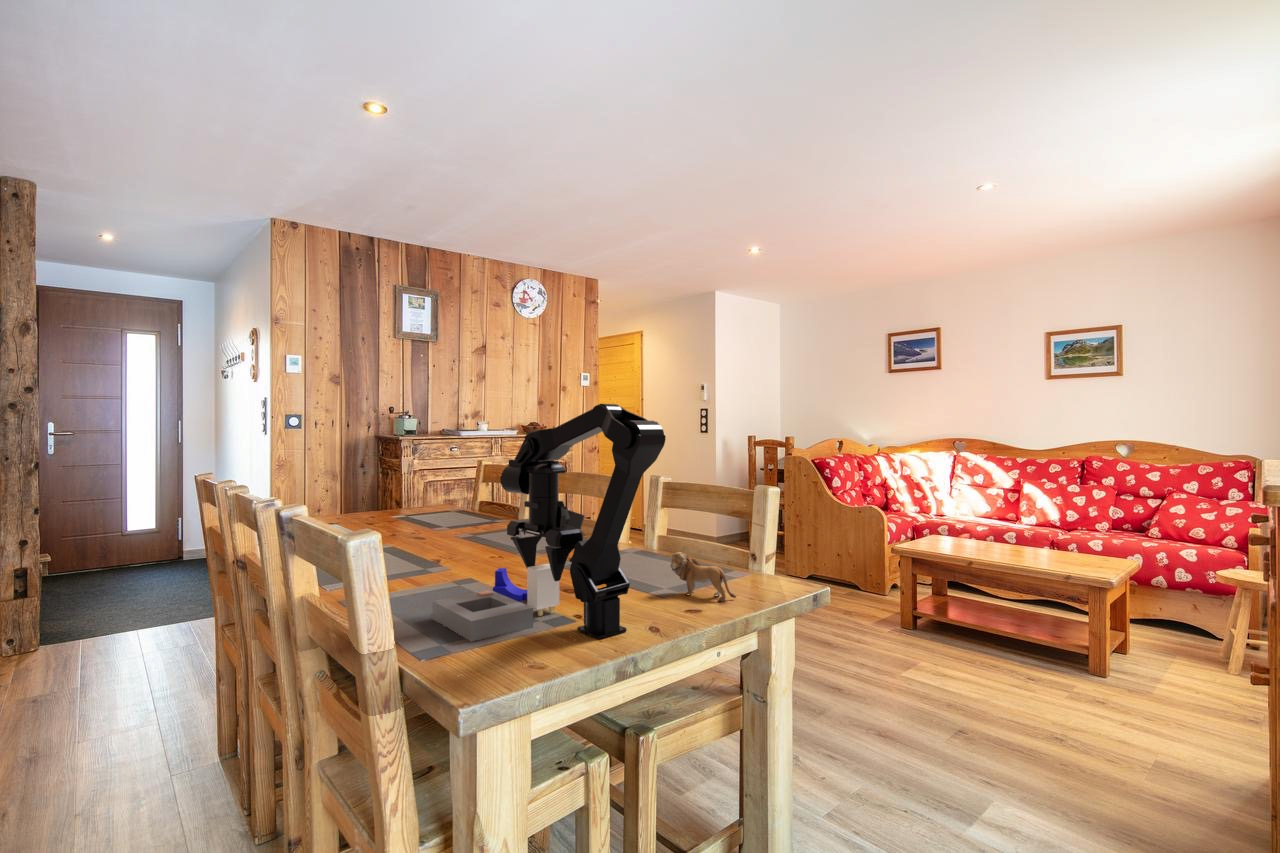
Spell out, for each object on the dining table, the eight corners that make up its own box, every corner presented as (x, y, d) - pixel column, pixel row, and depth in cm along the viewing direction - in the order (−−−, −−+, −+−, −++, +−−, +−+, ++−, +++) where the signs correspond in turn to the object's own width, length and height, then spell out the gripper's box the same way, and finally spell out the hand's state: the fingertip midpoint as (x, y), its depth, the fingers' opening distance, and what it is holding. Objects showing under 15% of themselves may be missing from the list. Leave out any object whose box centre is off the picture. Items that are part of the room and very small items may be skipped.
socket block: (532, 627, 115) (533, 606, 115) (471, 641, 107) (471, 619, 107) (490, 607, 127) (490, 588, 127) (432, 619, 119) (432, 599, 119)
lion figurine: (666, 595, 136) (666, 553, 136) (675, 589, 141) (675, 549, 141) (733, 603, 130) (733, 559, 130) (739, 596, 135) (739, 554, 135)
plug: (559, 612, 123) (559, 566, 123) (537, 617, 120) (537, 570, 120) (549, 608, 126) (549, 563, 126) (527, 613, 123) (527, 567, 123)
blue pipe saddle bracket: (492, 601, 132) (492, 573, 132) (499, 595, 136) (499, 568, 136) (549, 603, 130) (549, 574, 130) (554, 597, 135) (554, 569, 135)
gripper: (606, 497, 121) (606, 578, 121) (552, 489, 135) (552, 562, 135) (557, 501, 114) (557, 588, 114) (505, 493, 128) (505, 570, 128)
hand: (543, 576), depth 123 cm, fingers open, 9 cm apart
